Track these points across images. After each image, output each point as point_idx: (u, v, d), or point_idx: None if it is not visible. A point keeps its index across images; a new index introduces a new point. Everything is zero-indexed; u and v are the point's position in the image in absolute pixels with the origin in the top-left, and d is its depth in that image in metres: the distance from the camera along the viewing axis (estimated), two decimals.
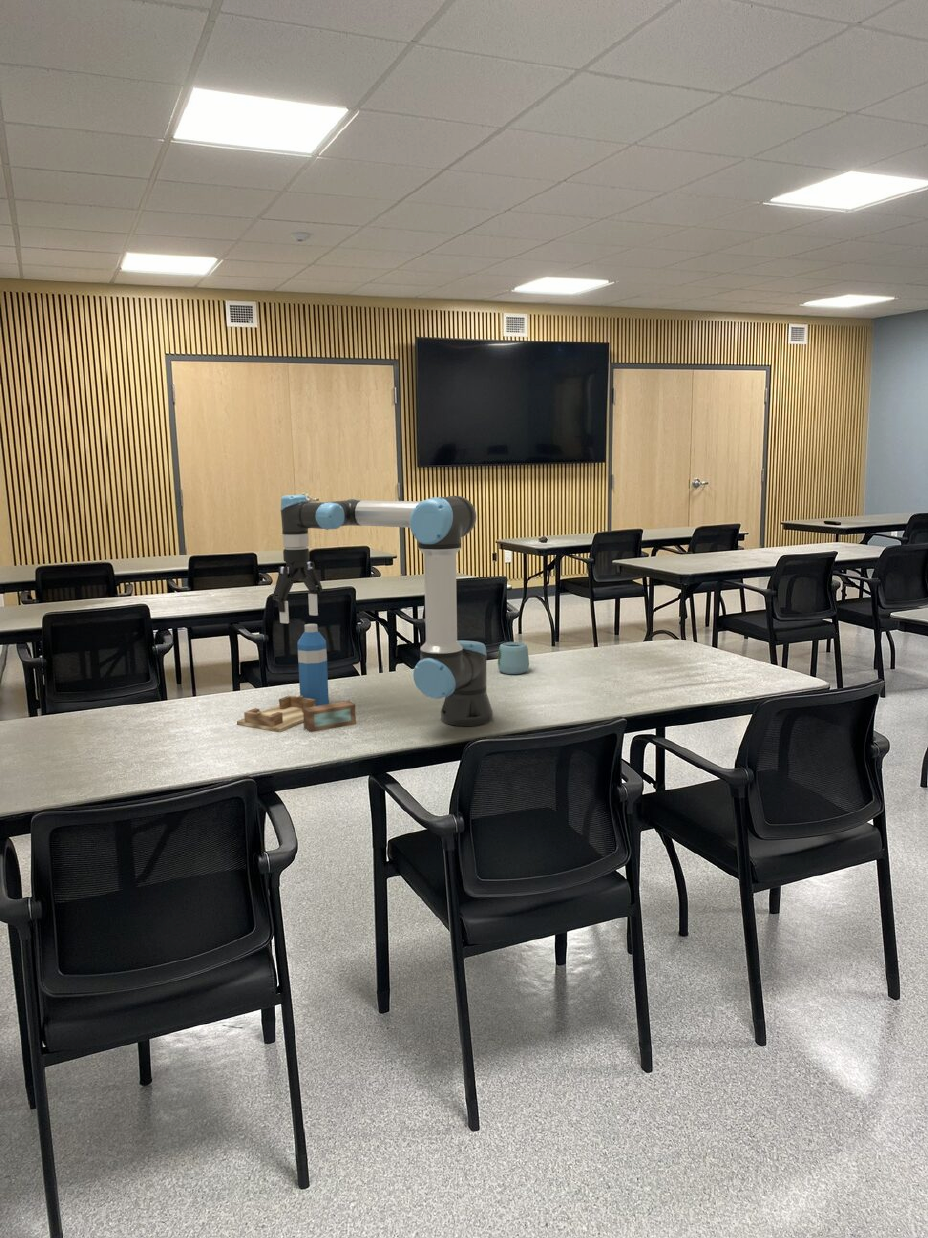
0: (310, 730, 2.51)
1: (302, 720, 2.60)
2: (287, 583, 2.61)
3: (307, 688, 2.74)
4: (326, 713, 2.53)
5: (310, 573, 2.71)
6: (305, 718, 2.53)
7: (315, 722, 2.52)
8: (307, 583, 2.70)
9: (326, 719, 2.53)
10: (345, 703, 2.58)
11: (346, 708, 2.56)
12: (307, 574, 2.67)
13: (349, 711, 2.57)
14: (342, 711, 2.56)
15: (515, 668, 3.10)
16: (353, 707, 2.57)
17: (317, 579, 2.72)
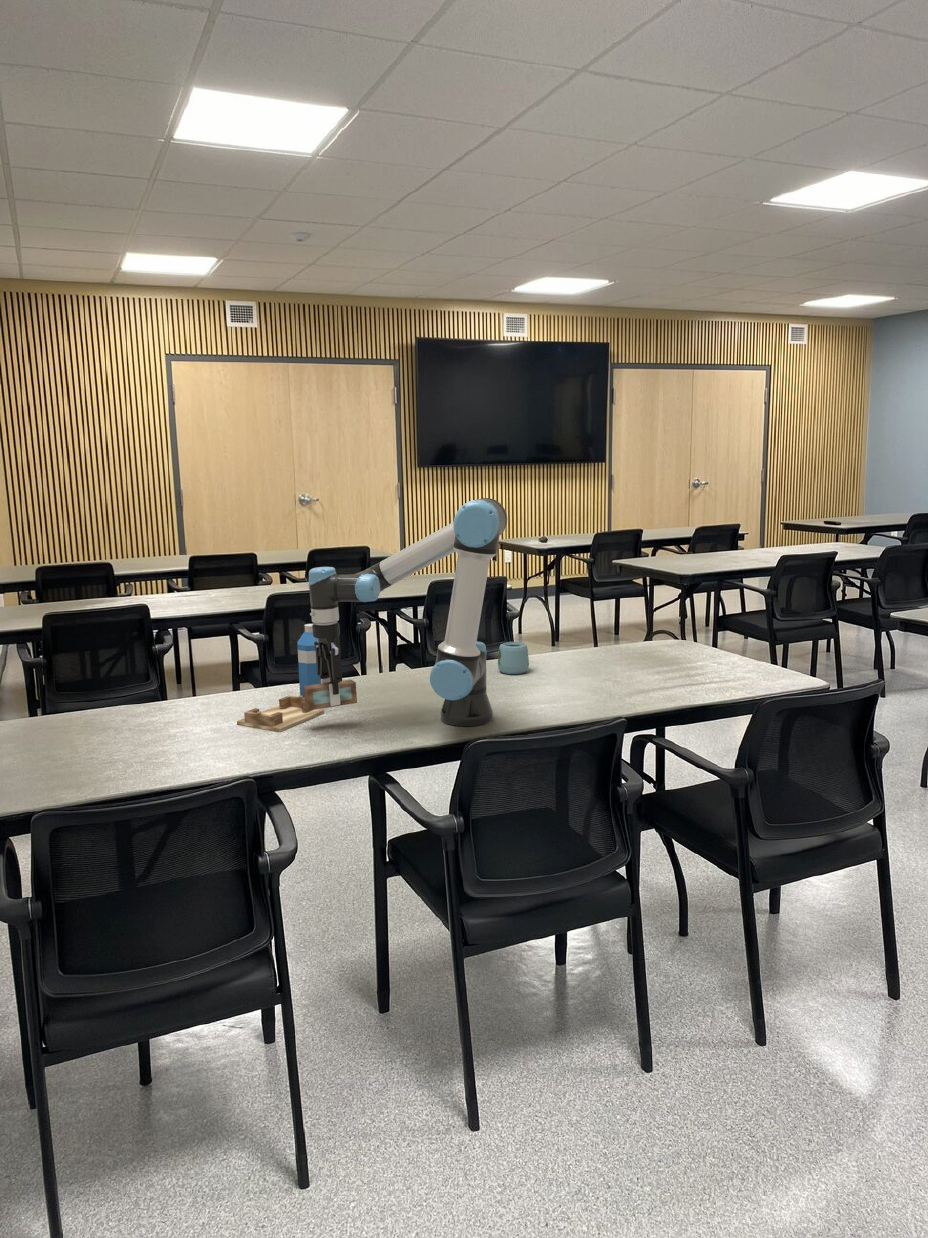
0: (309, 708, 2.51)
1: (302, 720, 2.60)
2: None
3: None
4: (325, 690, 2.52)
5: None
6: (305, 696, 2.53)
7: (315, 699, 2.51)
8: (326, 662, 2.55)
9: (325, 697, 2.52)
10: (346, 681, 2.56)
11: (347, 686, 2.54)
12: None
13: (350, 689, 2.55)
14: (342, 689, 2.54)
15: (515, 668, 3.10)
16: (354, 685, 2.55)
17: None
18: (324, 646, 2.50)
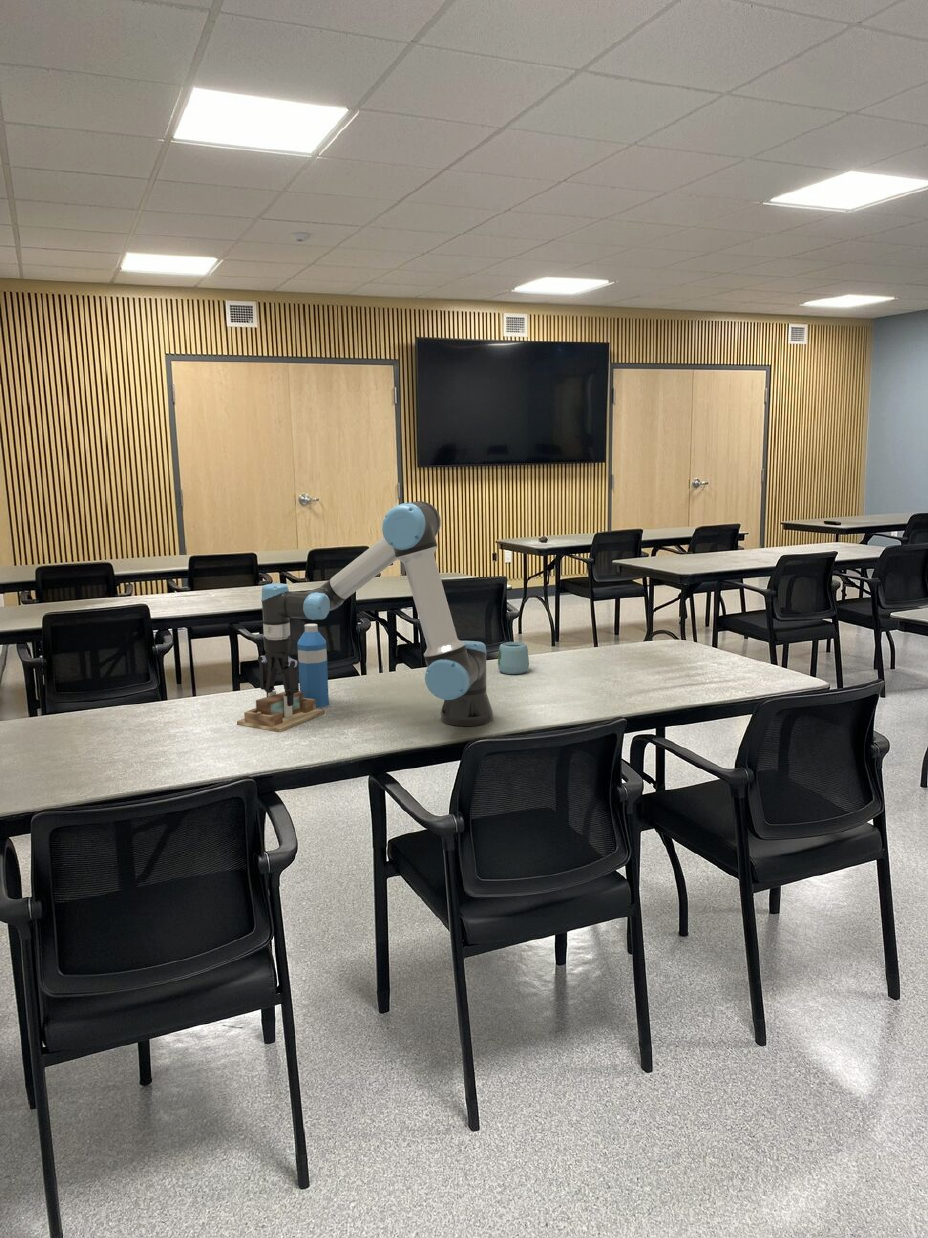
0: None
1: (302, 720, 2.60)
2: (287, 675, 2.60)
3: (307, 688, 2.74)
4: (280, 702, 2.60)
5: (265, 667, 2.63)
6: (259, 709, 2.58)
7: (272, 712, 2.58)
8: (273, 676, 2.63)
9: (280, 708, 2.60)
10: None
11: (296, 696, 2.65)
12: None
13: (298, 699, 2.66)
14: None
15: (515, 668, 3.10)
16: (301, 694, 2.66)
17: None
18: (279, 660, 2.58)
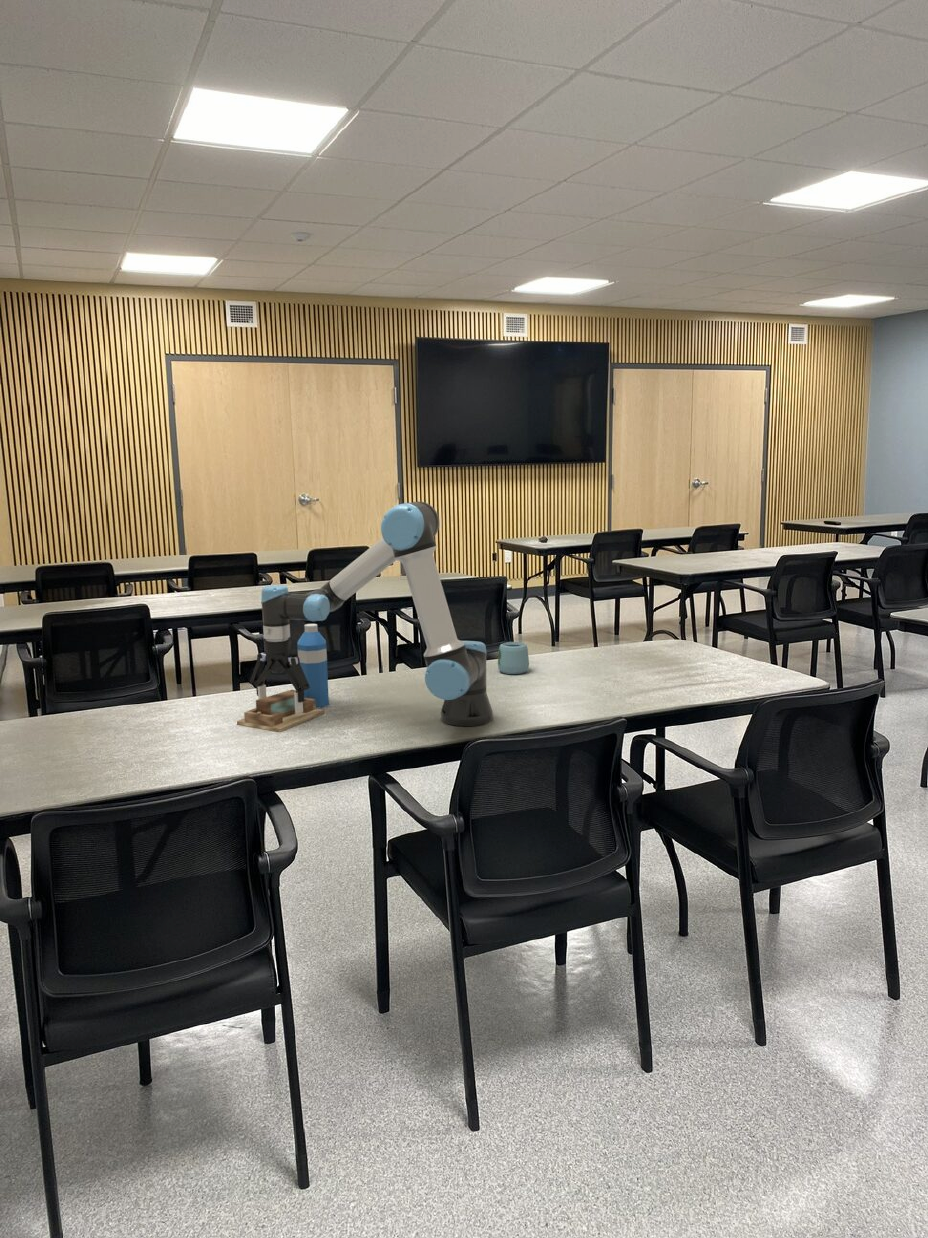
0: None
1: (302, 720, 2.60)
2: (292, 673, 2.59)
3: None
4: (280, 702, 2.60)
5: (261, 665, 2.64)
6: (259, 709, 2.58)
7: (272, 712, 2.58)
8: (268, 674, 2.64)
9: (280, 708, 2.60)
10: (292, 692, 2.67)
11: None
12: None
13: None
14: (292, 699, 2.64)
15: (515, 668, 3.10)
16: None
17: None
18: (279, 661, 2.58)
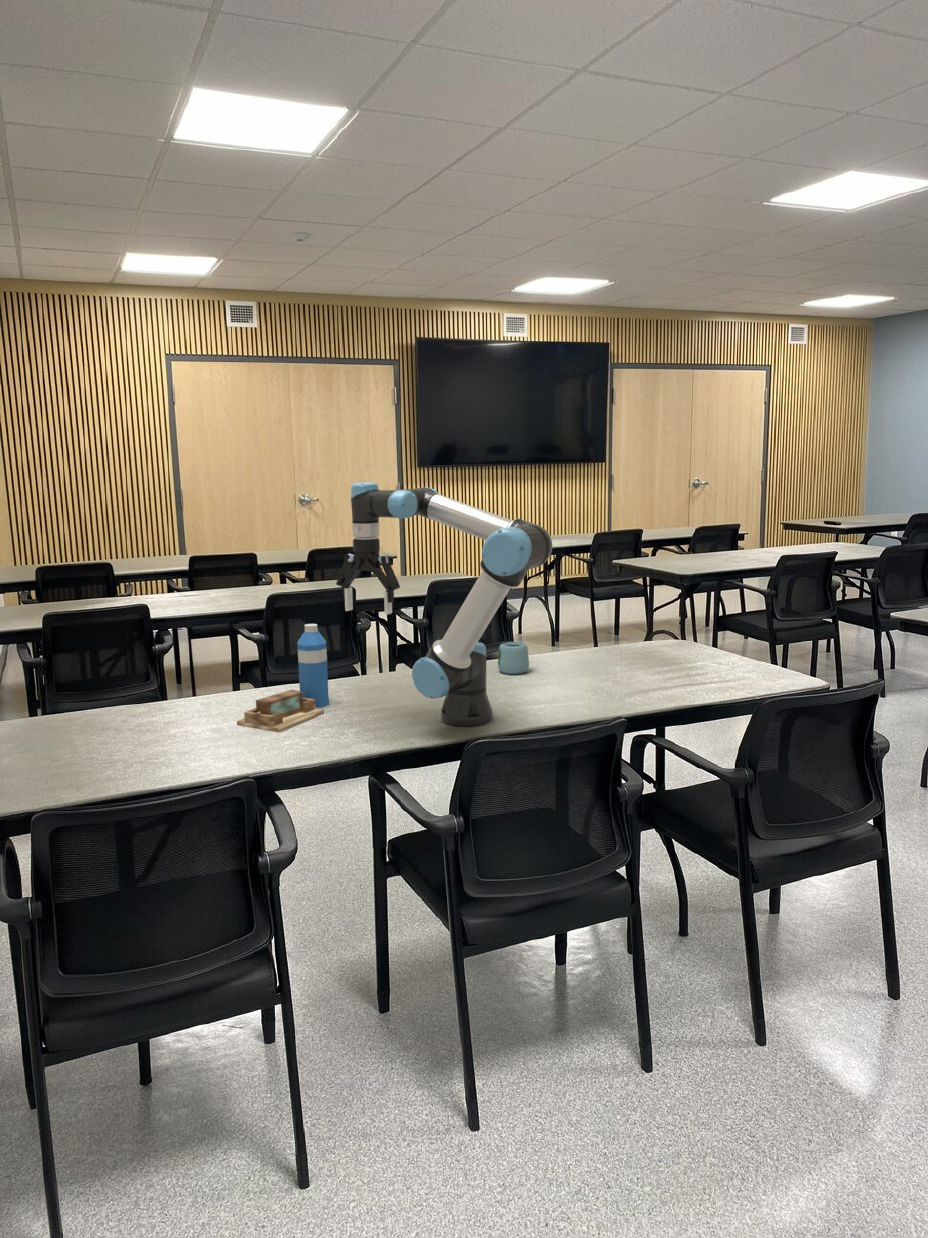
0: None
1: (302, 720, 2.60)
2: (382, 573, 2.53)
3: (307, 688, 2.74)
4: (280, 702, 2.60)
5: (348, 566, 2.57)
6: (259, 709, 2.58)
7: (272, 712, 2.58)
8: (355, 575, 2.57)
9: (280, 708, 2.60)
10: (292, 692, 2.67)
11: (296, 696, 2.65)
12: None
13: (298, 699, 2.66)
14: (292, 699, 2.64)
15: (515, 668, 3.10)
16: (301, 694, 2.66)
17: None
18: (368, 560, 2.52)
